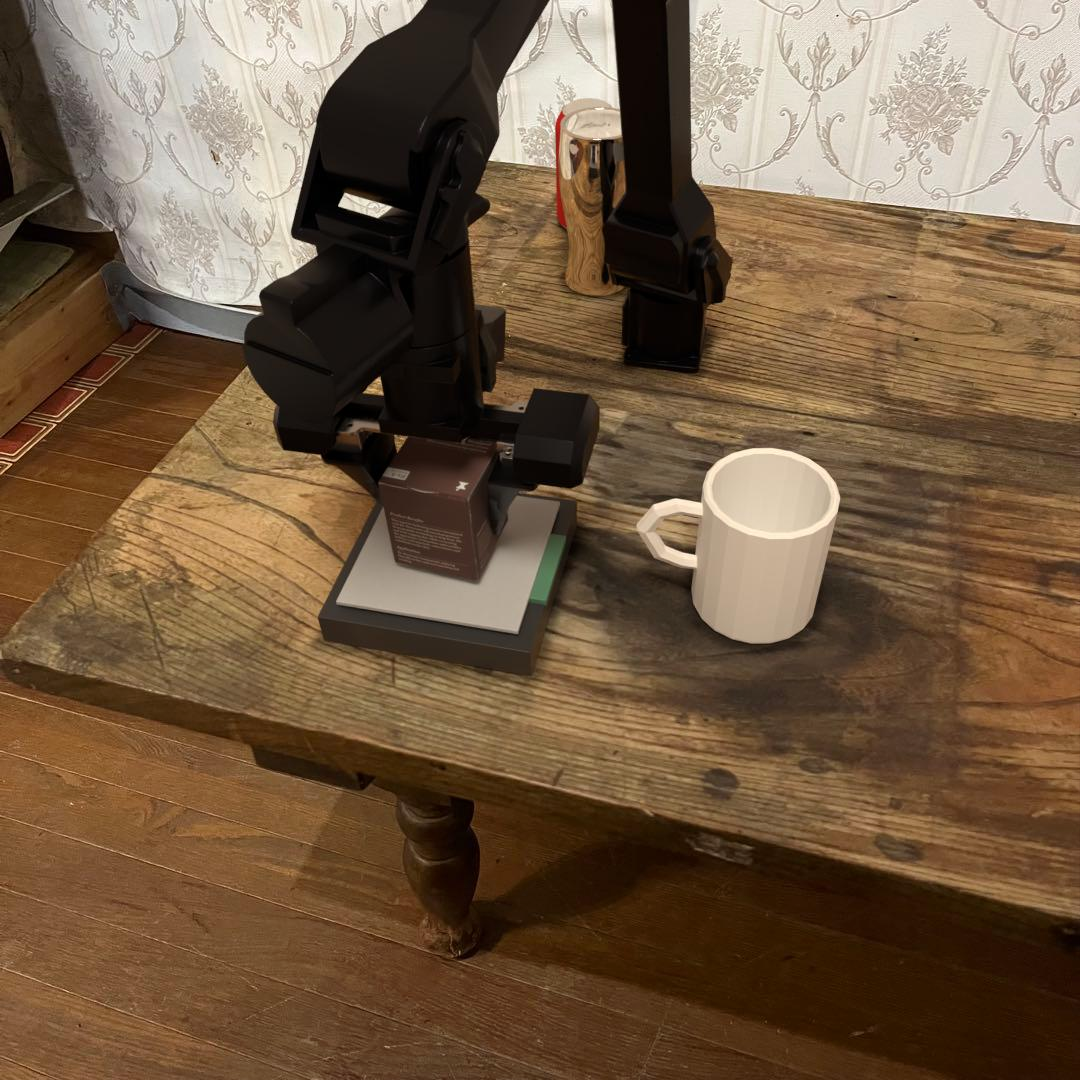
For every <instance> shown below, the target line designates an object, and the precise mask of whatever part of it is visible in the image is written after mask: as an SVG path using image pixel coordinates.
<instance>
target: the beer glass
mask: <svg viewBox="0 0 1080 1080" xmlns="http://www.w3.org/2000/svg"><path fill="white" fill-rule="evenodd" d="M560 125H561V132H560V146H559V186H560V193H561V200H562V205H563V210H564V216H565V221H566V225H567V229H566V231H567V236H568V257H567V262H566V269H565V273H564V280H565V284H566V286H568V287H569V288H570V290H572V291H574V292H576V293H578V294H581V295H583V296H584V295H585V296H590V297H603V296H610V295H613V294H616V293H619V292H620V291H622V290H623V289H625V287H623V286H620V285H619V286H616V285H613V284H612V280H611V276H610V271H609V267H608V264H606V263H604V255H605V243H604V237H603V233H602V227H603V225H604V224H605V222H606V221H607V220H608V218H609V216H610V215H611V213H612V212H613V210H614V208H615V207H616V205H617V204H618V202H619V201H620V199H621V198H622V196H623V194H624V193H625V175H624V161H623V148H622V135H621V121H620V108H617V107H612V108H610V107H590V108H584V109H580V110H576V111H573V112H571V113H569V114H567V115H566V116H565V117H564V118H563V119H562V120H561V124H560Z"/></svg>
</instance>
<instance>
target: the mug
mask: <svg viewBox="0 0 1080 1080" xmlns="http://www.w3.org/2000/svg"><path fill="white" fill-rule="evenodd" d="M840 501H841V495H840V491H839V487H838V485H837V483H836V481H835V480H834V478H832V476H831V475H830V474H829V472H828V471H827V470H826V469H825V468H823V467H822V466H820V464H817V462H815V461H814V460H812V459H810V458H808V457H806V456H804V455H801V454H799V453H797V452H794V451H791V450H786V449H780V448H776V447H775V448H774V447H753V448H752V447H751V448H748V449H743V450H740V451H735V452H732V453H730V454H728V455H726V456H725V457H723V458H720V459H719V460H717V461H716V462H715V463H713V465H712V466H711V468H710V469H708V471H706V475H705V478H704V481H703V484H702V489H701V499H700V501H694V500H687V499H682V498H676V497H675V498H671V499H668V500H665V501H661V502H657V503H653V504H652V505H651V506H650V508H649V509H648V510H647V511H646V513H644V515H643V516H642V517H641V519H639V521H638V522H637V523H636V524H635V526H636V531H637V533H638V535H639V536H640V537H641V540H642V541H643V542H644V544H645V546H646V547H647V549H648V551H649V552H650V554H651V555H652V557H653V558H654V559H656V560H659V561H661V562H664V563H667V564H669V565H671V566H674V567H677V568H678V569H679V568H680V569H688V570H692V571H693V572H692V579H691V581H692V582H691V588H690V589H691V596H692V597H691V598H692V604H693V606H694V608H695V610H696V611H697V613H698V615H699V617H700V619H701V620H702V621H703V622H704V623H706V624H707V625H708V626H709V627H710V628H711V629H712V630H713V631H715V632H717V633H718V634H720V635H722V636H724V637H727V638H728V639H730V640H734V641H737V642H740V643H741V642H742V643H746V644H752V645H753V644H754V645H759V644H761V645H762V644H766V645H767V644H774V643H777V642H781V641H785V640H788V639H790V638H792V637H794V636H795V635H796V634H798V633H799V632H801V631H803V630H804V629H805V627H806V626H807V625H808V624H809V622H810V621H811V620H812V618H813V616H814V612H815V608H816V604H817V600H818V596H819V591H820V587H821V583H822V579H823V575H824V570H825V565H826V562H827V558H828V553H829V549H830V546H831V542H832V541H831V540H832V537H833V533H834V529H835V525H836V520H837V516H838V512H839V507H840ZM681 516H687V517H692V518H693V517H694V518H698V525H697V526H698V527H697V535H696V544H695V553H694V554H692V553H687V552H682V551H680V550H677V549H675V548H672V547H670V546H668V545H666V544H665V543H664V540H662V538H661V536H660V535H659V533H658V532H657V530H656V529H658V527H660V525H661V524H662V523H663V522H664V520H668V519H671V518H672V519H673V518H676V517H681Z"/></svg>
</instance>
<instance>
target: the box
mask: <svg viewBox="0 0 1080 1080" xmlns="http://www.w3.org/2000/svg"><path fill="white" fill-rule="evenodd" d="M498 453H499V452H497V442H489V441H482V440H474V439H469V440H468V442H467V443H465V444H460V443H452V442H445V441H437V440H429V439H422V438H414V437H406V439H405V440H404V442H403V444H402V445H401V447H400V448H399V450H397V454H396V456H395V457H394V459H393V460H392V462H391V463H390V465H389V466H388V468H387V469H386V471H385V472H384V474H383V476H382V477H381V479H380V480H379V482H378V485H379V489H380V492H381V499H382V503H383V507H384V512H385V517H386V522H387V527H388V532H389V536H390V542H391V547H392V551H393V555H394V559H395V562H396V563H401V564H406V565H410V566H414V567H419V568H423V569H428V570H432V571H437V572H441V573H446V574H450V575H454V576H459V577H463V578H467V579H472V580H475V581H477V580H478V579H479V577H480V575H481V573H482V571H483V569H484V567H485V565H486V563H487V561H488V559H489V557H490V555H491V553H492V551H493V549H494V547H495V545H496V543H497V541H498V539H499V537H500V535H501V533H502V531H503V529H504V527H505V525H506V523H507V521H508V513H507V515H506V518H505V521H504V524H503V526H502V529H501V532H500V534H499V535H495V534H493V531H492V529H491V526H490V518H489V503H488V489H487V480H488V478H489V475H490V473H491V470H492V468H493V465H494V463H495V460H496V458H497V455H498Z"/></svg>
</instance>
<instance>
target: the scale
mask: <svg viewBox="0 0 1080 1080" xmlns="http://www.w3.org/2000/svg"><path fill="white" fill-rule="evenodd" d="M507 513H508V521H507V523H506V525H505V527H504V529H503V531H502V533H501V535H500V537H499V539H498V541H497V543H496V545H495V547H494V549H493V551H492V553H491V555H490V557H489V559H488V561H487V563H486V565H485V567H484V569H483V571H482V573H481V575H480V577H479V579H478V580H477V581H475V580H472V579H467V578H463V577H459V576H454V575H450V574H446V573H441V572H437V571H432V570H428V569H423V568H419V567H414V566H410V565H406V564H401V563H396V562H395V559H394V555H393V551H392V547H391V542H390V536H389V532H388V527H387V522H386V517H385V512H384V507H383V506H382V505H381V504H380V503H379V502H378V501H377V500H375V502H374V504H373V507H372V508H371V510H370V512H369V514H368V516H367V517H366V518H367V519H366V521H365V522H364V524H363V526H362V528H361V530H360V532H359V533H358V536H357V538H356V540H355V542H354V544H353V545H352V548H351V550H350V552H349V554H348V556H347V558H346V559H345V562H344V563H343V566H342V568H341V569H340V572H339V573H338V576H337V577H336V579H335V582H334V583H333V585H332V587H331V589H330V591H329V593H328V594H327V597H326V599H325V601H324V603H323V605H322V606H321V609H320V611H319V613H318V615H317V620H318V624H319V628H320V631H321V634H322V635H321V636H322V638H323V641H325V642H331V643H337V644H342V645H348V646H354V647H359V648H365V649H372V650H377V651H383V652H388V653H395V654H400V655H407V656H412V657H418V658H424V659H429V660H435V661H442V662H446V663H453V664H459V665H464V666H469V667H477V668H482V669H488V670H494V671H499V672H505V673H510V674H515V675H521V676H522V675H523V676H527V677H528V676H529V677H531V676H532V675H533V672H534V668H535V665H536V663H537V659H538V655H539V652H540V649H541V646H542V643H543V638H544V636H545V632H546V629H547V625H548V623H549V619H550V616H551V612H552V609H553V606H554V603H555V599H556V596H557V593H558V589H559V585H560V583H561V579H562V576H563V572H564V569H565V566H566V562H567V559H568V556H569V553H570V549H571V545H572V543H573V539H574V537H575V532H576V530H577V526H578V500H575V499H568V498H560V497H553V496H547V495H540V494H539V495H538V494H532V493H526V492H519V493H518V494H517V496H516V497H515V499H514V500H513V502H512V503H511V505H510V506H509V509H508V512H507Z"/></svg>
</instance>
